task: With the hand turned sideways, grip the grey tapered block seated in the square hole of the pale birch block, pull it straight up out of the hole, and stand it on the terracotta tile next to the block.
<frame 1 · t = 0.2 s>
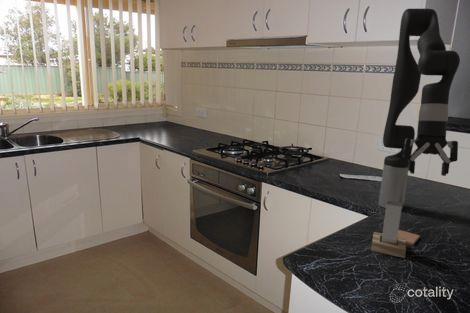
hand: (427, 174, 106), 22 cm above the worktop, tool pointing down, fingers open, 8 cm apart
tile: (402, 237, 114), on the worktop
grey tapered block: (391, 226, 105), in the socket block
socket block: (387, 248, 106), on the worktop
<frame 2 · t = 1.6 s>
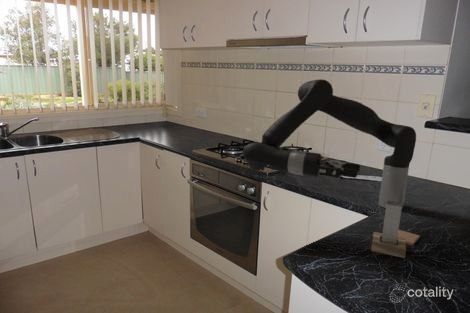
hand: (358, 171, 106), 22 cm above the worktop, tool horizontal, fingers open, 8 cm apart
nothing on the worktop moved.
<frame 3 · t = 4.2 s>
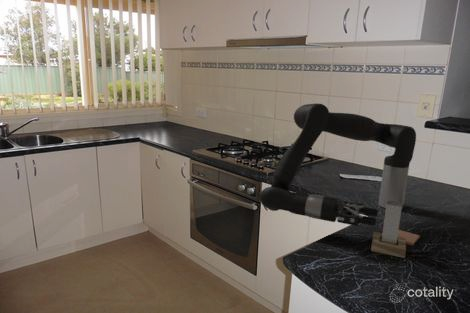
hand: (376, 217, 106), 9 cm above the worktop, tool horizontal, fingers open, 8 cm apart
nothing on the worktop moved.
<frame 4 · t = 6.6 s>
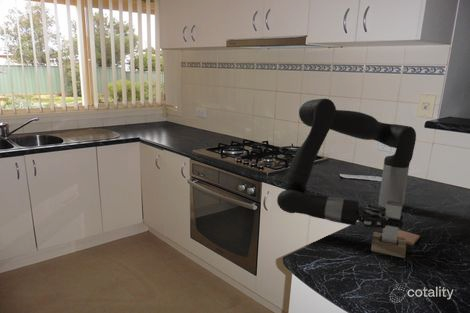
hand: (402, 221, 103), 9 cm above the worktop, tool horizontal, fingers closed on grey tapered block, 4 cm apart
grey tapered block: (391, 226, 105), in the socket block, touching gripper
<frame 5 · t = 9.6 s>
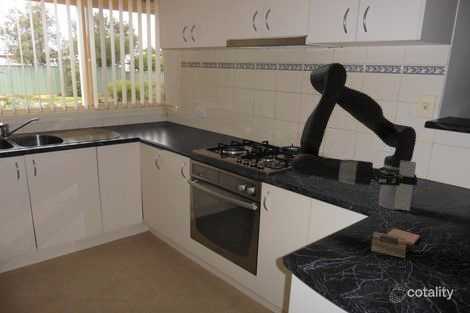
hand: (416, 179, 105), 21 cm above the worktop, tool horizontal, fingers closed on grey tapered block, 4 cm apart
grey tapered block: (404, 185, 106), point 19 cm above the worktop, touching gripper
when the fingers open (11 cm above the worktop, at t = 12.6 s): grey tapered block drops 1 cm, resting on tile.
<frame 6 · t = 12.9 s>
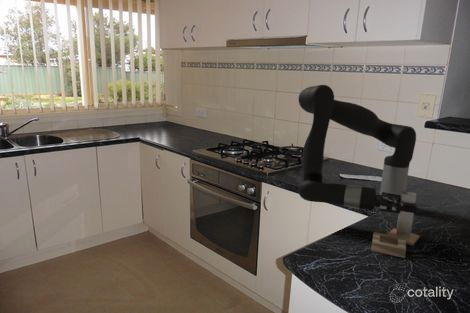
hand: (415, 206, 111), 11 cm above the worktop, tool horizontal, fingers open, 6 cm apart
grey tapered block: (405, 214, 112), on the tile, point 8 cm above the worktop
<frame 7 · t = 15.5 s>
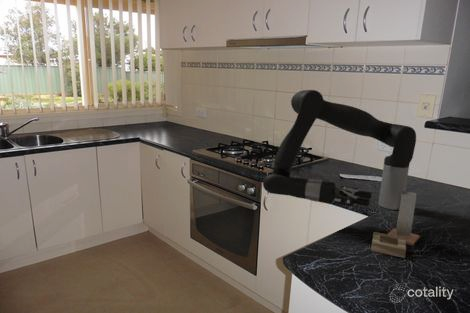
hand: (370, 199, 116), 11 cm above the worktop, tool horizontal, fingers open, 8 cm apart
nothing on the worktop moved.
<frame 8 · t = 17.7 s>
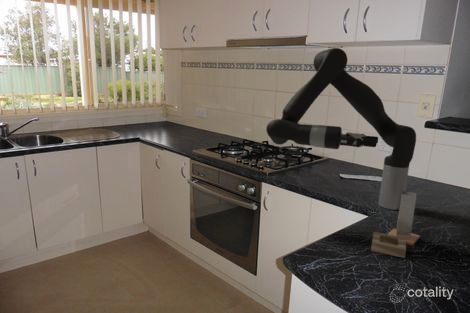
hand: (377, 141, 112), 30 cm above the worktop, tool horizontal, fingers open, 8 cm apart
nothing on the worktop moved.
at the end: grey tapered block 0.0 cm off-centre on the tile, point 7.8 cm above the tile's base; grey tapered block tilted 0°; the gripper is holding nothing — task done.
